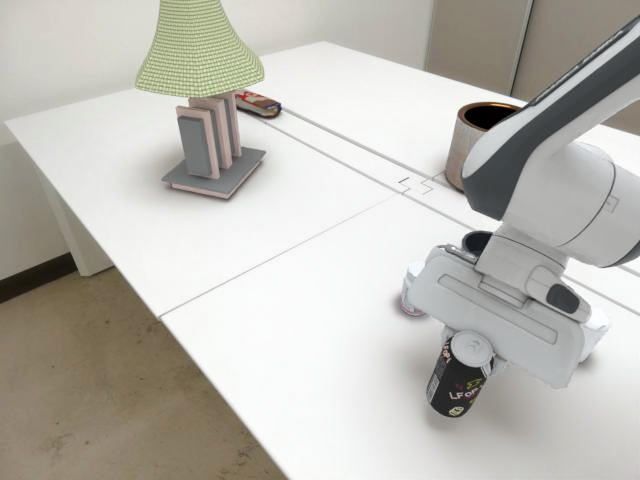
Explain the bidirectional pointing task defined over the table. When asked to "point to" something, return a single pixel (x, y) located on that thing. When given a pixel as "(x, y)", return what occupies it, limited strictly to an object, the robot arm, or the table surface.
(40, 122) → the table surface
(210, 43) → the desk lamp
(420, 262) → the pill bottle
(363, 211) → the table surface
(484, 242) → the can holder
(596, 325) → the milkshake
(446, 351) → the beverage can
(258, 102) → the pencil case
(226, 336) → the table surface
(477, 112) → the planter
